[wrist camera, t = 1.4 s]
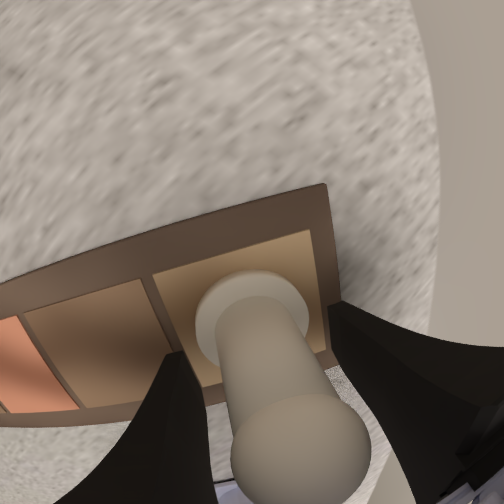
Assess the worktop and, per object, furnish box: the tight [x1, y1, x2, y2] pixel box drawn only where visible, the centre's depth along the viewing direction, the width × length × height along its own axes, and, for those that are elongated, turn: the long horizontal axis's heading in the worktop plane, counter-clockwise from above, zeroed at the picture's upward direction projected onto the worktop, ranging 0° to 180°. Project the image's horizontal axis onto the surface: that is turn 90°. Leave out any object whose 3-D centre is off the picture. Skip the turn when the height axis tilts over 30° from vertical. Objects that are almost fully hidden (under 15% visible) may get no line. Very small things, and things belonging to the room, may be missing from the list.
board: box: [0, 183, 341, 428], centre depth 11 cm, size 9×28×1 cm, turn 103°
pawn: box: [195, 269, 371, 504], centre depth 8 cm, size 4×4×8 cm
